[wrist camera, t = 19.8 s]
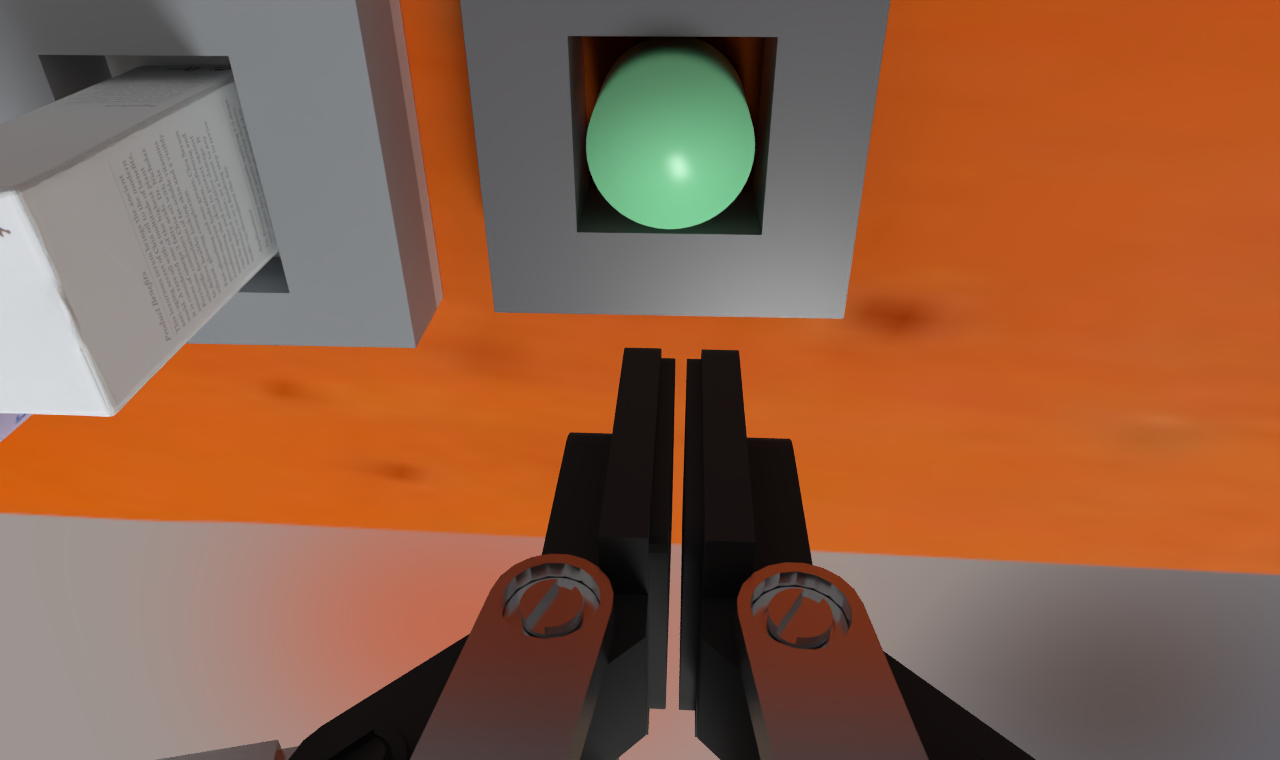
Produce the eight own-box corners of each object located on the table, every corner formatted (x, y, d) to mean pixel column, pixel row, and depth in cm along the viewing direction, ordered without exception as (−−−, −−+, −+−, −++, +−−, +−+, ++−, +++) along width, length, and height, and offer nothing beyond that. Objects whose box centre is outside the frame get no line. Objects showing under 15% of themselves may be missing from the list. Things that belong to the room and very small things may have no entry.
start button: (751, 34, 26) (761, 61, 23) (741, 186, 29) (748, 230, 26) (595, 34, 26) (582, 60, 23) (600, 184, 29) (589, 228, 26)
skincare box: (137, 63, 27) (-179, 185, 17) (262, 62, 27) (15, 184, 17) (193, 233, 31) (-45, 419, 21) (305, 233, 31) (119, 421, 20)
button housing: (873, -93, 25) (902, -85, 22) (826, 268, 31) (843, 318, 28) (481, -93, 25) (450, -84, 22) (514, 263, 32) (494, 312, 29)
